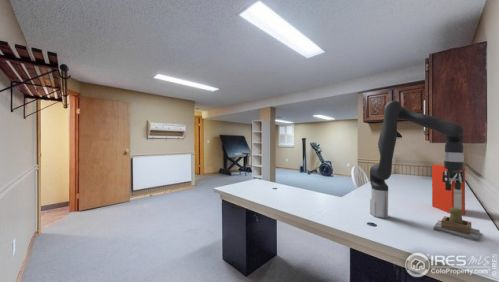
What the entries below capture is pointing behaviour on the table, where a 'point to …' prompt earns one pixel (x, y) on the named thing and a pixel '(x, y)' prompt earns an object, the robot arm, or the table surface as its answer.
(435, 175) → the file binder
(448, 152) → the robot arm
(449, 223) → the socket block
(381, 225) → the table surface
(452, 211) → the cork
